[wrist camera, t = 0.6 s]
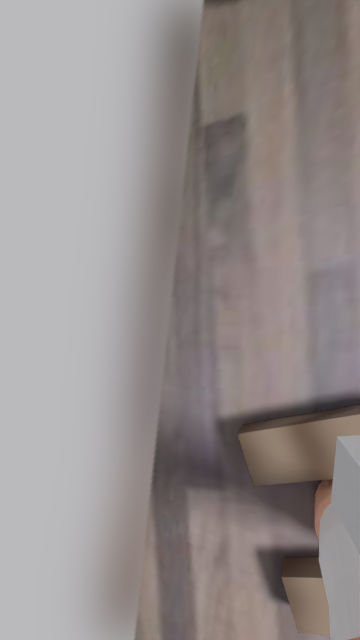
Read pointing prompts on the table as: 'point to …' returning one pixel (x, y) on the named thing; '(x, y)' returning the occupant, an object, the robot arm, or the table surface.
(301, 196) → the table surface
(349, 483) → the robot arm
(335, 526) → the salt shaker
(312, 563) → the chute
